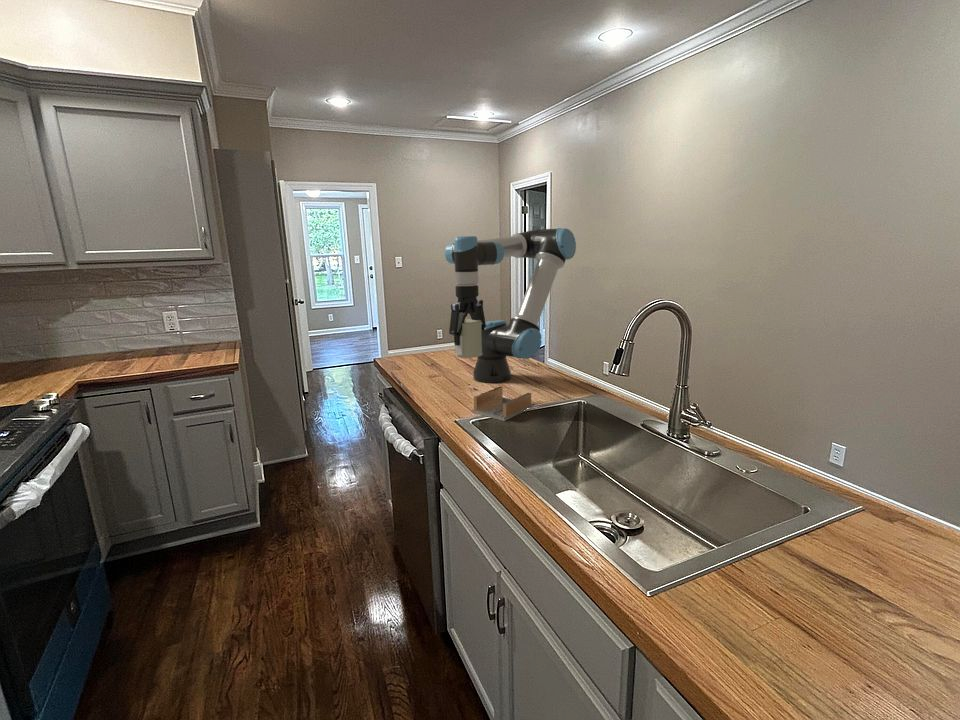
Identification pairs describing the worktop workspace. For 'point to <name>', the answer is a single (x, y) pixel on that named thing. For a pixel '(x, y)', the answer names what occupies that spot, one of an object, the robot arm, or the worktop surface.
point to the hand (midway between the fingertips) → (468, 351)
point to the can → (471, 338)
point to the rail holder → (500, 404)
